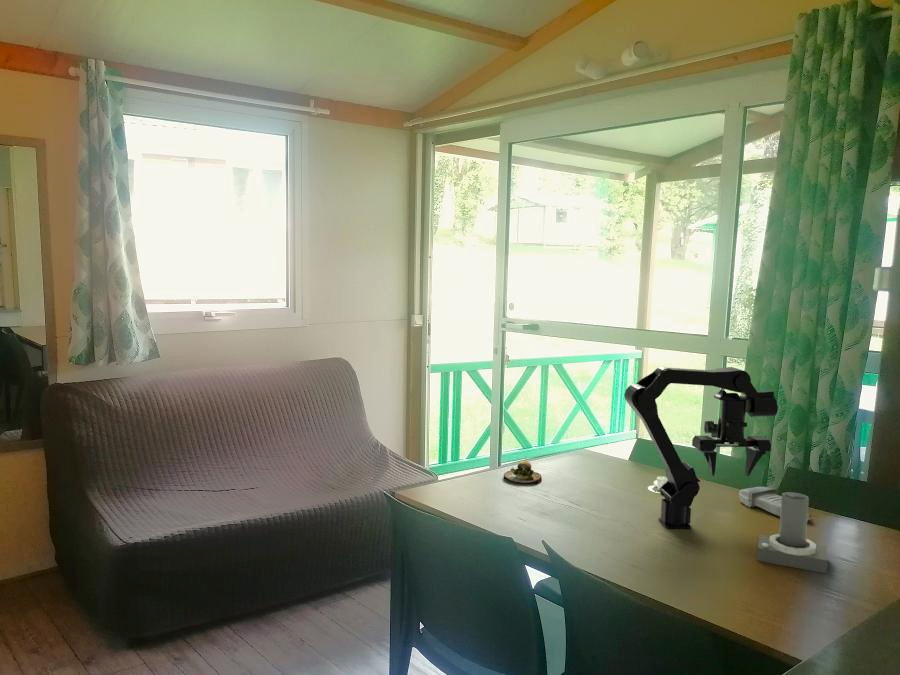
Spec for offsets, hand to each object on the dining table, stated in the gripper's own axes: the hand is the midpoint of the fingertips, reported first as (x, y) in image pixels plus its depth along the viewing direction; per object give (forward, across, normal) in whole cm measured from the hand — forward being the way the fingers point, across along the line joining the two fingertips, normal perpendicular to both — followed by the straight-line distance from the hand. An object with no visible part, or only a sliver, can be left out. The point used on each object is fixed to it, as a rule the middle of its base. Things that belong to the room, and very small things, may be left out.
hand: (729, 475), depth 177 cm
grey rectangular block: (+13, -5, +22) cm, 26 cm away
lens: (+10, -5, +22) cm, 25 cm away
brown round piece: (+14, +48, -38) cm, 63 cm away
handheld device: (+14, -19, -10) cm, 25 cm away
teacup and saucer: (+14, +4, -29) cm, 32 cm away
